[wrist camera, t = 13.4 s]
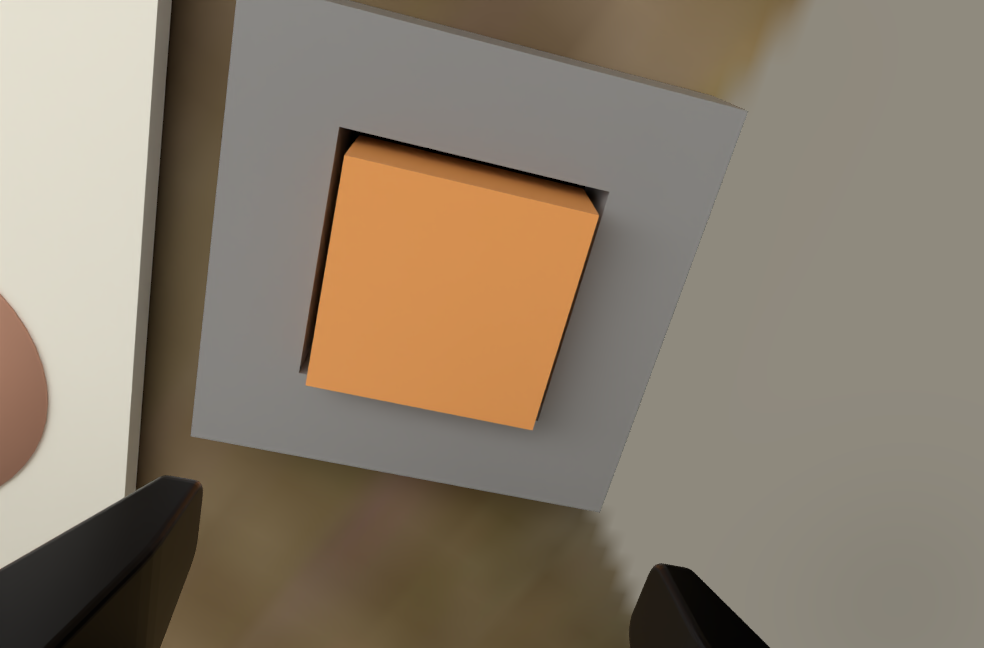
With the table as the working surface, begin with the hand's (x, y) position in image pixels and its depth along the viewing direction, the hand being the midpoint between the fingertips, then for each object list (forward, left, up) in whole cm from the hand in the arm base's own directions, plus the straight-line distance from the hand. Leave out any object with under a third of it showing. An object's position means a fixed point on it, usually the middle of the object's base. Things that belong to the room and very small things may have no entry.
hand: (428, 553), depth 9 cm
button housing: (0, 0, -11) cm, 11 cm away
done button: (0, 0, -10) cm, 10 cm away
